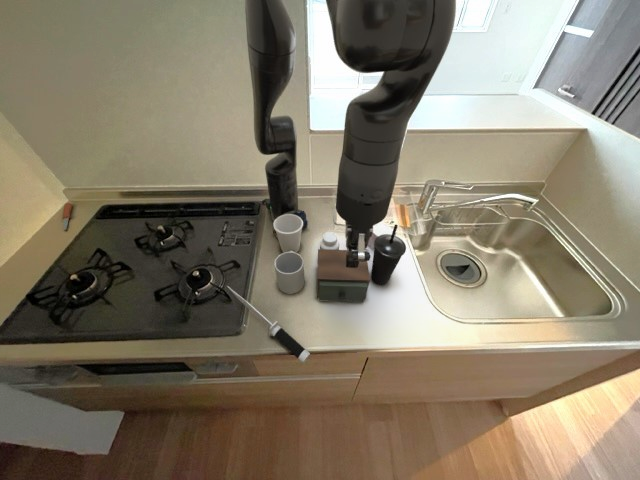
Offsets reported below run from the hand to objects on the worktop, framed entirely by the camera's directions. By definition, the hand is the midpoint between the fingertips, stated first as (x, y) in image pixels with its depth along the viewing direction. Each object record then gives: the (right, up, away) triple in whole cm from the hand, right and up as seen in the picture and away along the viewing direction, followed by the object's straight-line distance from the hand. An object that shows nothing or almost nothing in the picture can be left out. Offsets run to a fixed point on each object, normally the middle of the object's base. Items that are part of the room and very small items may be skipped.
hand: (351, 264), depth 47 cm
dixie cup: (-15, +2, +33) cm, 36 cm away
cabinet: (0, -7, +23) cm, 25 cm away
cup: (-14, -6, +24) cm, 29 cm away
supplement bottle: (-3, -2, +30) cm, 30 cm away
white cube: (+13, +3, +35) cm, 37 cm away
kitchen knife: (-90, +13, +40) cm, 99 cm away
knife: (-19, -16, +14) cm, 29 cm away
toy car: (-16, +11, +37) cm, 42 cm away
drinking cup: (+11, -6, +25) cm, 28 cm away
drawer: (0, -9, +21) cm, 23 cm away
